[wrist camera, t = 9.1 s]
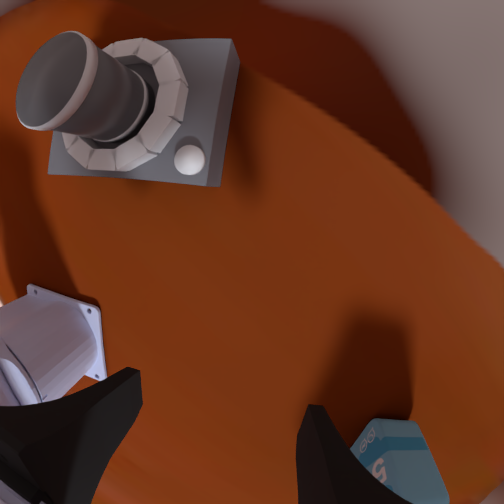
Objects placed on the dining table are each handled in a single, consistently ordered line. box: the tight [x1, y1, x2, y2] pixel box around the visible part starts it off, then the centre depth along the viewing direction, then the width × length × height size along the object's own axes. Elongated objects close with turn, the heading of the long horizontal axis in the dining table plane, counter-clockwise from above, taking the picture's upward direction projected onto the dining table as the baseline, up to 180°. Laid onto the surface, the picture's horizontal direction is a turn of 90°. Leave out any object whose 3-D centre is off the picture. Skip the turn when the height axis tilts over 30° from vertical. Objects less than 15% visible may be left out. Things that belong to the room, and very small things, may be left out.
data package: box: [350, 418, 449, 504], centre depth 17 cm, size 12×4×12 cm, turn 165°
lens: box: [16, 31, 155, 144], centre depth 11 cm, size 5×5×7 cm
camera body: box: [48, 38, 240, 187], centre depth 16 cm, size 12×9×5 cm
